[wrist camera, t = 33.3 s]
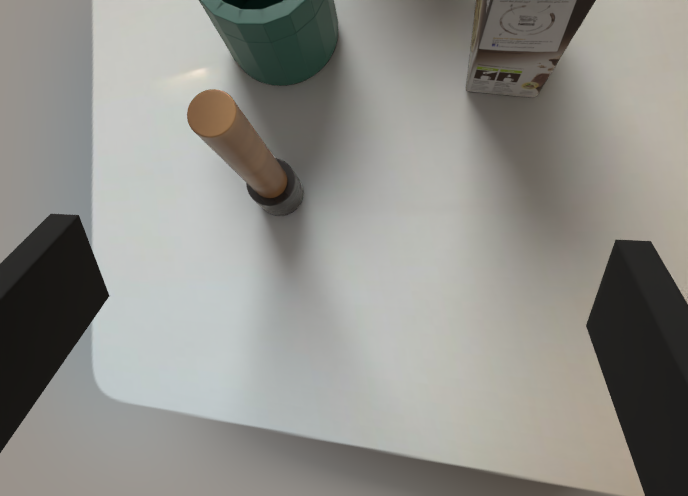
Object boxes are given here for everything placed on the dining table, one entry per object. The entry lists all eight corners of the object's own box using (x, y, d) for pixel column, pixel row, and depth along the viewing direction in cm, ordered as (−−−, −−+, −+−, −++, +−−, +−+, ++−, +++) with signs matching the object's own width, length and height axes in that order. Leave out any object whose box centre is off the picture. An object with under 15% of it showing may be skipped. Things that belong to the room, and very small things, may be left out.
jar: (341, -16, 49) (327, -101, 40) (334, 86, 48) (318, 24, 38) (236, -16, 51) (197, -99, 41) (226, 84, 49) (183, 24, 39)
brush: (305, 172, 47) (250, 78, 29) (301, 217, 47) (243, 148, 29) (260, 171, 48) (180, 77, 30) (256, 215, 47) (172, 146, 29)
